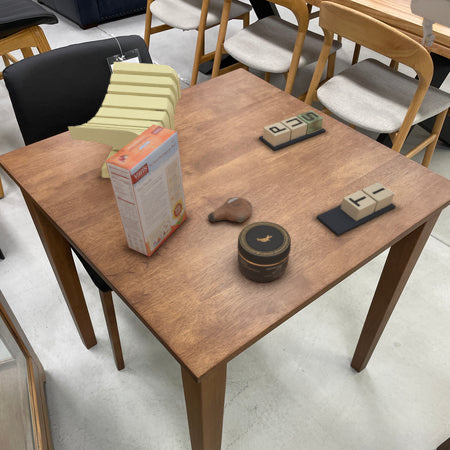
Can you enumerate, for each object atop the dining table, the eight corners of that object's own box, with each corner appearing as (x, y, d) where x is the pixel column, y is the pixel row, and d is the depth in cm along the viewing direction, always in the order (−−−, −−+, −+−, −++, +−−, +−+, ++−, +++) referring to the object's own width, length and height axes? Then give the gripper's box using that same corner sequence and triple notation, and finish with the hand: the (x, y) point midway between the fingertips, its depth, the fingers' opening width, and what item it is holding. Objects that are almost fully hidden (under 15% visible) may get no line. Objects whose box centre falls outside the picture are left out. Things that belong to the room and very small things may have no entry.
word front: (372, 191, 101) (376, 178, 99) (395, 208, 98) (400, 194, 95) (316, 217, 96) (318, 204, 93) (337, 236, 92) (341, 222, 89)
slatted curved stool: (157, 205, 99) (145, 132, 85) (90, 199, 100) (67, 126, 87) (184, 134, 118) (178, 65, 104) (127, 130, 119) (114, 61, 105)
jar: (297, 267, 86) (302, 238, 81) (263, 293, 82) (265, 265, 76) (261, 241, 91) (263, 213, 85) (226, 265, 87) (226, 237, 81)
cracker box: (165, 210, 98) (153, 121, 82) (187, 219, 96) (179, 130, 80) (125, 248, 90) (103, 158, 74) (149, 258, 88) (131, 169, 72)
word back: (308, 120, 122) (310, 107, 119) (325, 132, 118) (327, 118, 115) (258, 138, 116) (259, 125, 113) (274, 151, 112) (275, 137, 109)
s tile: (309, 120, 121) (311, 109, 118) (321, 128, 118) (323, 117, 115) (295, 125, 119) (296, 114, 116) (307, 134, 116) (308, 122, 114)
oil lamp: (219, 204, 100) (206, 227, 95) (216, 190, 97) (203, 212, 92) (256, 209, 97) (245, 232, 93) (255, 193, 94) (243, 217, 90)
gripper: (544, -21, 70) (502, 69, 81) (442, -50, 81) (417, 33, 92) (520, -14, 68) (480, 77, 79) (418, -45, 79) (395, 39, 89)
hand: (445, 53), depth 85 cm, fingers open, 8 cm apart
